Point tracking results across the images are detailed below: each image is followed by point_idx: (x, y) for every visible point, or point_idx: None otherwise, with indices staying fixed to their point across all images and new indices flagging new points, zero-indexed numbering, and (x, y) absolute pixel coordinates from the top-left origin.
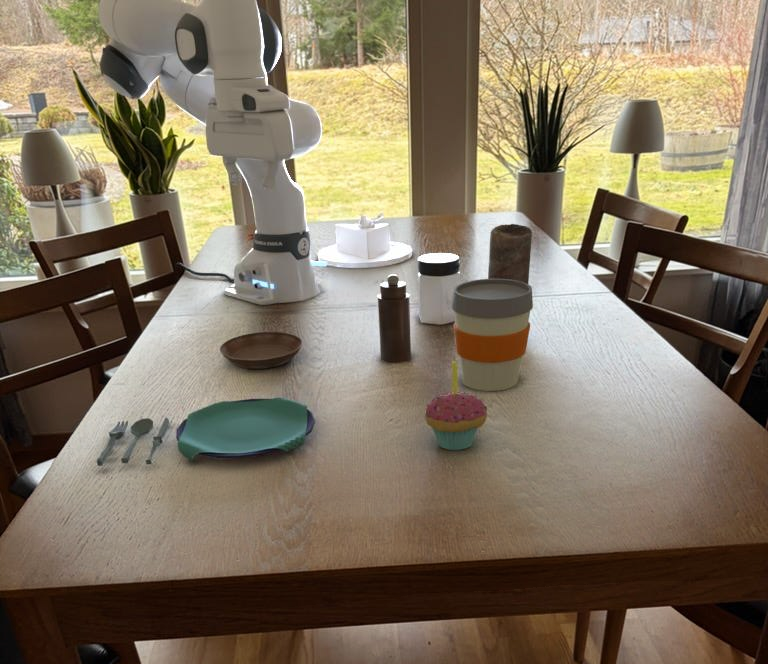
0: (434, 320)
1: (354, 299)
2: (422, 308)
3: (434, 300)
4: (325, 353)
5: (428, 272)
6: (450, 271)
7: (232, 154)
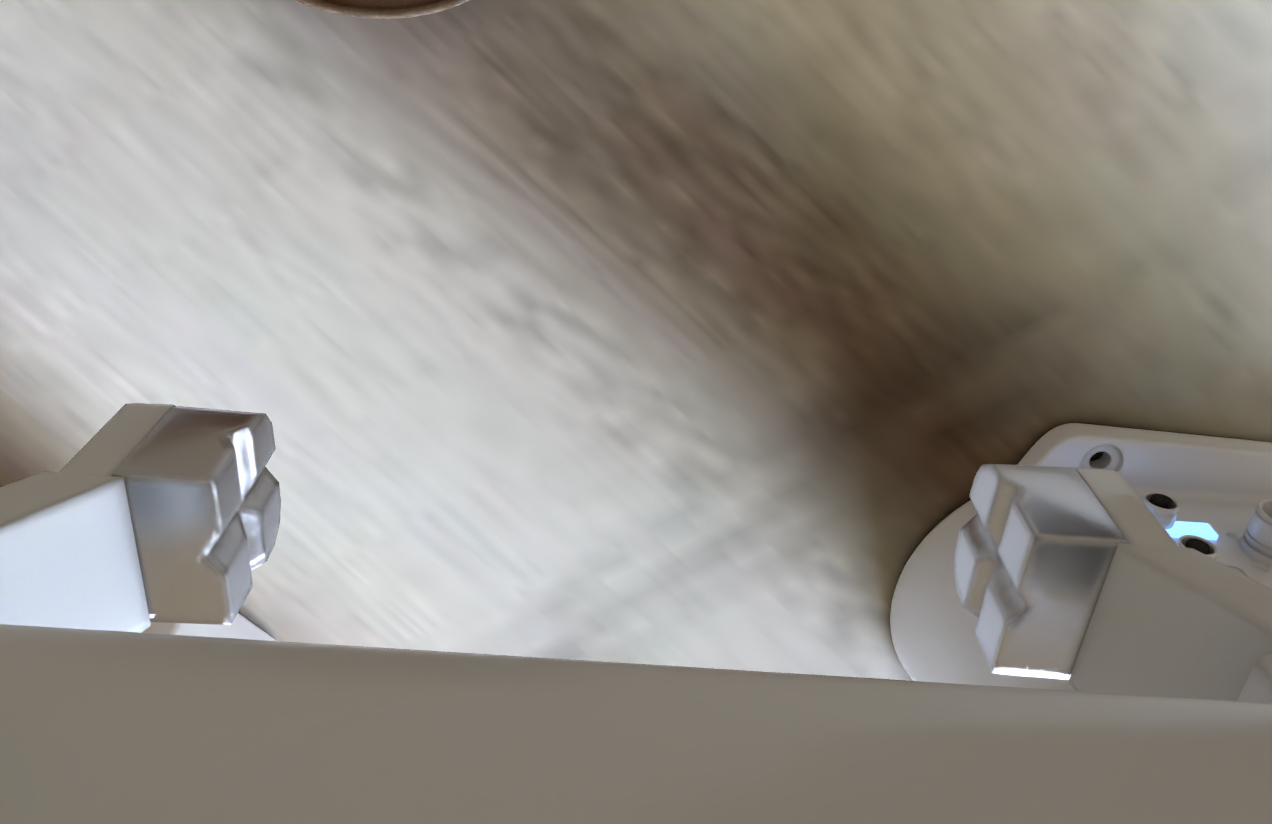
0: None
1: None
2: (166, 628)
3: None
4: (186, 42)
5: None
6: None
7: (992, 711)
